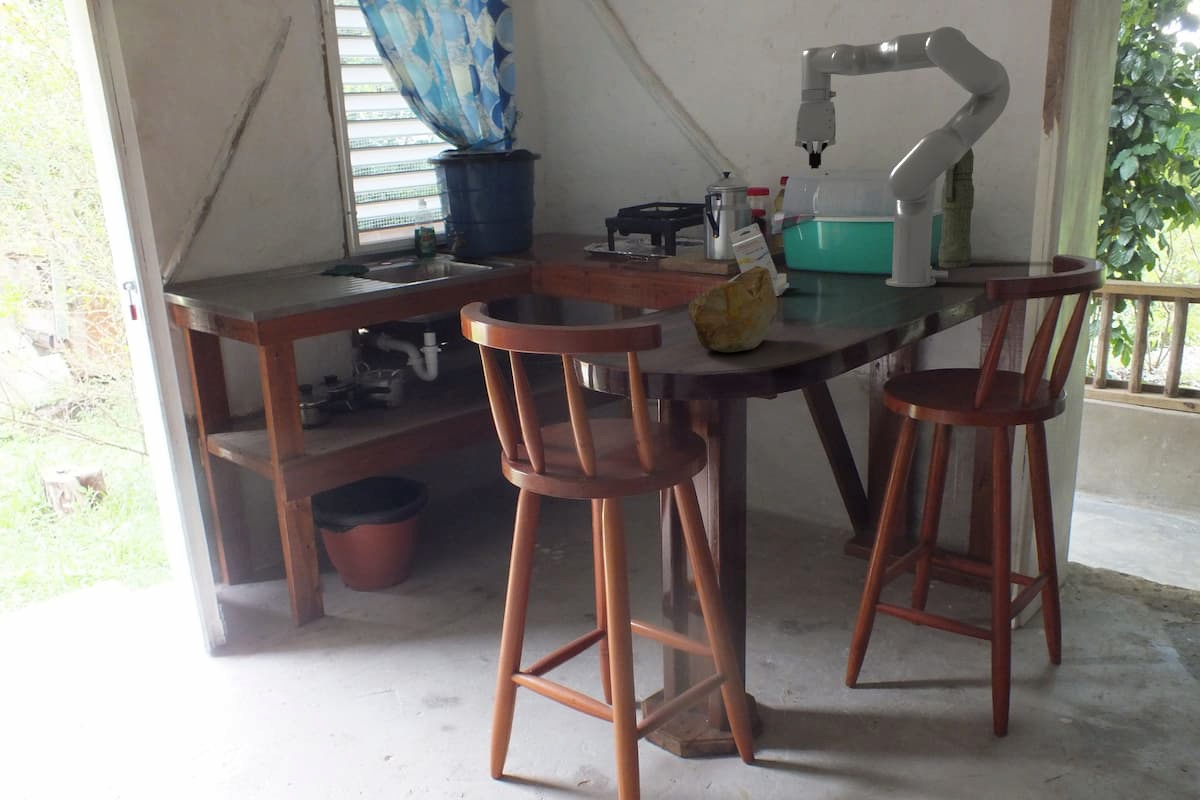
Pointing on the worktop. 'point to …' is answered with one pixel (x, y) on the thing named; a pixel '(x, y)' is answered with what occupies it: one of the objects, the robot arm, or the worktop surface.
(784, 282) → the rail dock
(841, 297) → the worktop surface
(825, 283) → the worktop surface
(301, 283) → the worktop surface
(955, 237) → the thermos
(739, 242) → the ink cartridge box
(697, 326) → the rough brown rock
